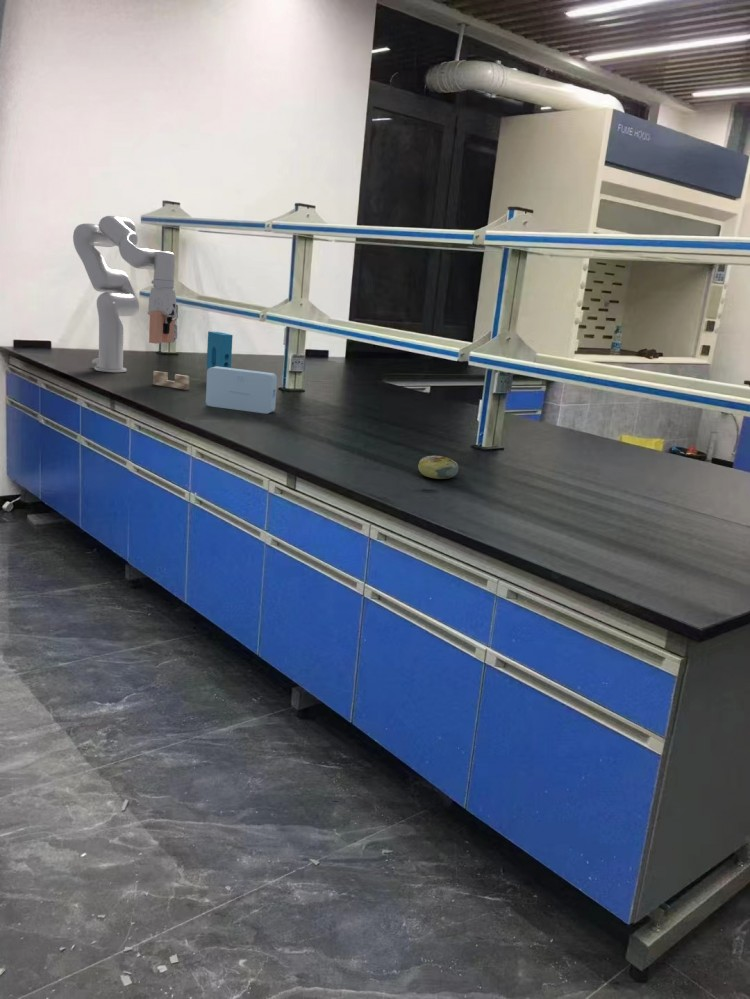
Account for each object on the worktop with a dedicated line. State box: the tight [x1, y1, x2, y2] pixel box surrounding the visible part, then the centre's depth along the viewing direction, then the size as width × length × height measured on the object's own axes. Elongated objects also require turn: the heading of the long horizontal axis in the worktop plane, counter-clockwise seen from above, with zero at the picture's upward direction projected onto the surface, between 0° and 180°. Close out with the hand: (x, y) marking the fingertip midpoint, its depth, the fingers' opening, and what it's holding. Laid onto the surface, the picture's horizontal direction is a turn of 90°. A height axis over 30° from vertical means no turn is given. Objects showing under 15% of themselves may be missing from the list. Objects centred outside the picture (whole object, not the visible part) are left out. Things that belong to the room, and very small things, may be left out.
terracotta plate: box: [148, 311, 176, 344], centre depth 330 cm, size 3×12×12 cm, turn 158°
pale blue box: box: [205, 366, 278, 415], centre depth 290 cm, size 23×6×13 cm, turn 79°
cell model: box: [417, 455, 459, 480], centre depth 222 cm, size 10×8×14 cm
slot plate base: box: [152, 370, 190, 391], centre depth 324 cm, size 15×2×5 cm, turn 68°
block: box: [206, 330, 233, 371], centre depth 344 cm, size 12×5×20 cm, turn 41°
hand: (162, 332), depth 331 cm, fingers closed on terracotta plate, 3 cm apart
